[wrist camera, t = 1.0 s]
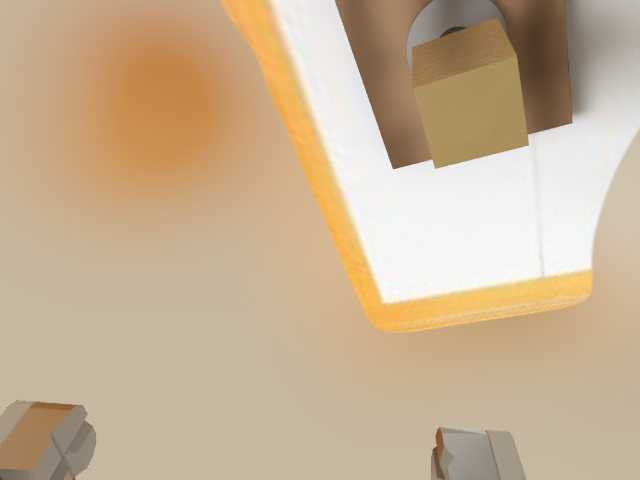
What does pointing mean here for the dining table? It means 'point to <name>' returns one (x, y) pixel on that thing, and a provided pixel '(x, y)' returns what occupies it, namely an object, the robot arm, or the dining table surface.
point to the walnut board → (398, 80)
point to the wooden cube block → (469, 94)
